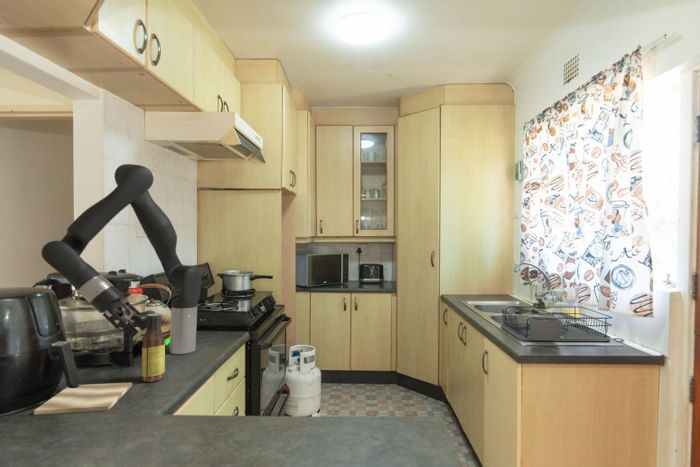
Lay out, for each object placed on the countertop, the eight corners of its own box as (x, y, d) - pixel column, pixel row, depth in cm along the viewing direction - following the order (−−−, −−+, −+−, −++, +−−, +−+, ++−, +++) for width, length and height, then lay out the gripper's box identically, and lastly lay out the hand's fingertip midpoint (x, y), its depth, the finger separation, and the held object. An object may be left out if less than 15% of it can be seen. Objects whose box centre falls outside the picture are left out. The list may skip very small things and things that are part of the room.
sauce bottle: (168, 376, 115) (171, 313, 116) (156, 383, 109) (159, 316, 110) (148, 375, 116) (152, 312, 116) (135, 382, 109) (138, 315, 110)
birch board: (69, 388, 103) (69, 385, 103) (132, 386, 107) (132, 382, 107) (33, 414, 88) (34, 410, 88) (108, 410, 91) (108, 406, 91)
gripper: (100, 287, 104) (142, 327, 106) (121, 282, 118) (157, 318, 120) (78, 306, 102) (121, 346, 104) (101, 299, 116) (139, 334, 118)
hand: (140, 331), depth 112 cm, fingers open, 8 cm apart
